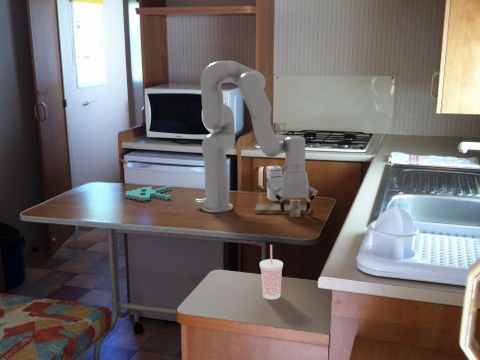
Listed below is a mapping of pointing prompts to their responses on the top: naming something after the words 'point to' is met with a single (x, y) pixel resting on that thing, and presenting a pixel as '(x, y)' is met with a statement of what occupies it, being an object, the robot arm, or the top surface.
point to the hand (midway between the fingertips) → (295, 211)
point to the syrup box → (273, 181)
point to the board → (277, 209)
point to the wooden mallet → (294, 208)
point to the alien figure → (148, 193)
